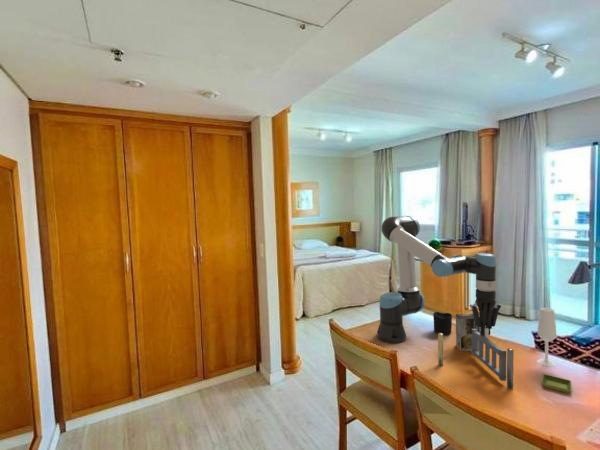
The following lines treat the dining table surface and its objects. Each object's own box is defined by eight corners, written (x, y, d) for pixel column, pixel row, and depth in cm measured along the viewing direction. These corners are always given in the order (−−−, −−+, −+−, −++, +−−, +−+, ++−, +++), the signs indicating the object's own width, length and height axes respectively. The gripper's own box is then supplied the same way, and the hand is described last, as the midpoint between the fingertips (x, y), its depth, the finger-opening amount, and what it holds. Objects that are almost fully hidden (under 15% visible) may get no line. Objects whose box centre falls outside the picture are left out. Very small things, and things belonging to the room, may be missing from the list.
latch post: (437, 364, 143) (437, 333, 143) (439, 363, 145) (439, 332, 144) (442, 366, 142) (441, 335, 141) (443, 364, 143) (443, 333, 143)
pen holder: (442, 327, 186) (441, 310, 185) (455, 333, 177) (455, 315, 176) (429, 330, 182) (429, 313, 181) (443, 336, 173) (443, 318, 173)
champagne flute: (536, 358, 147) (537, 306, 145) (555, 361, 143) (556, 308, 142) (537, 364, 141) (537, 310, 140) (556, 368, 138) (557, 312, 136)
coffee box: (474, 345, 162) (474, 313, 161) (480, 351, 155) (480, 318, 154) (455, 345, 162) (455, 313, 162) (460, 351, 156) (460, 318, 155)
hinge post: (506, 387, 125) (506, 349, 124) (507, 385, 126) (508, 347, 125) (512, 389, 123) (512, 351, 122) (513, 387, 125) (514, 349, 124)
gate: (506, 380, 127) (506, 350, 126) (501, 380, 127) (501, 350, 126) (475, 354, 149) (475, 328, 148) (471, 354, 149) (471, 328, 148)
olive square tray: (543, 378, 131) (543, 373, 131) (571, 385, 125) (571, 380, 125) (541, 388, 124) (541, 383, 124) (571, 396, 119) (571, 390, 118)
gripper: (476, 292, 137) (475, 346, 139) (505, 290, 138) (505, 344, 140) (466, 287, 145) (465, 339, 146) (494, 286, 146) (493, 337, 147)
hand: (485, 341), depth 143 cm, fingers closed
